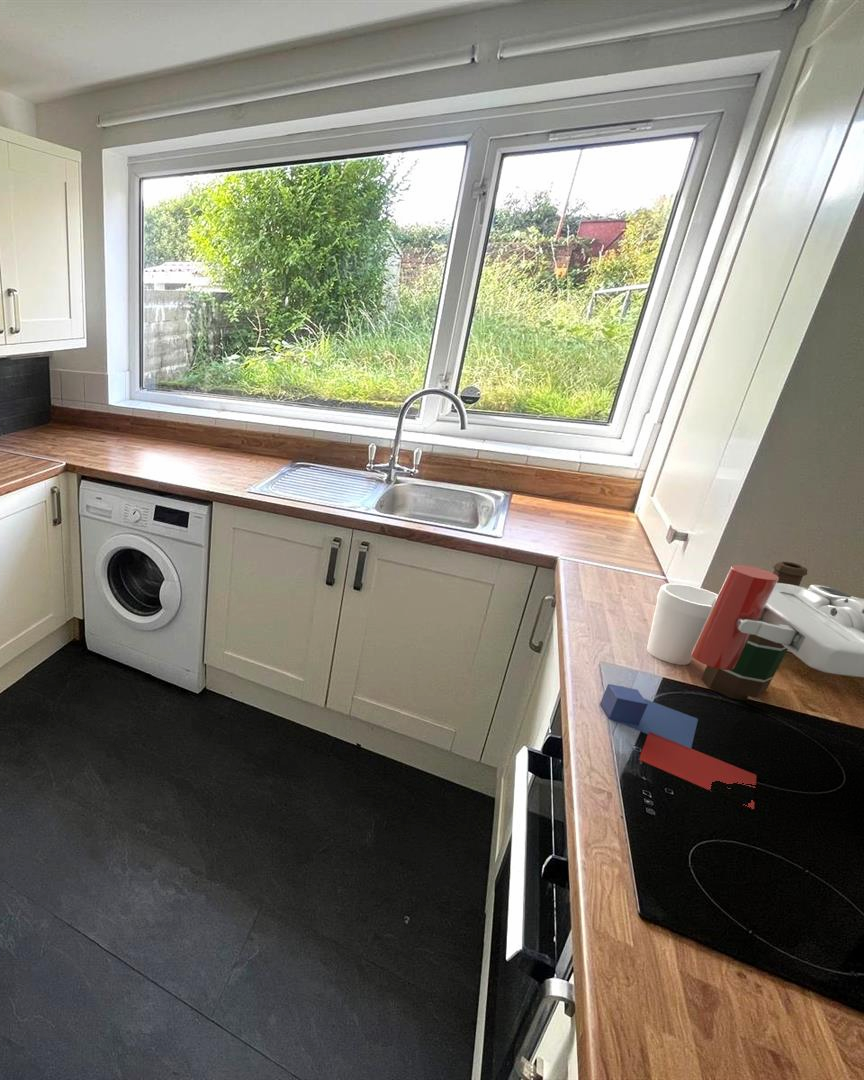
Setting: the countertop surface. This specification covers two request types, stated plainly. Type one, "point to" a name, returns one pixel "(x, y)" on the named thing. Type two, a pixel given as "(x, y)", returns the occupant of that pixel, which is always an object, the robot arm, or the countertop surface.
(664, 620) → the foam cup
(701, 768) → the red mat
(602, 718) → the countertop surface
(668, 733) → the blue mat
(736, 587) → the red canister
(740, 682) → the beer bottle
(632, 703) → the blue block
